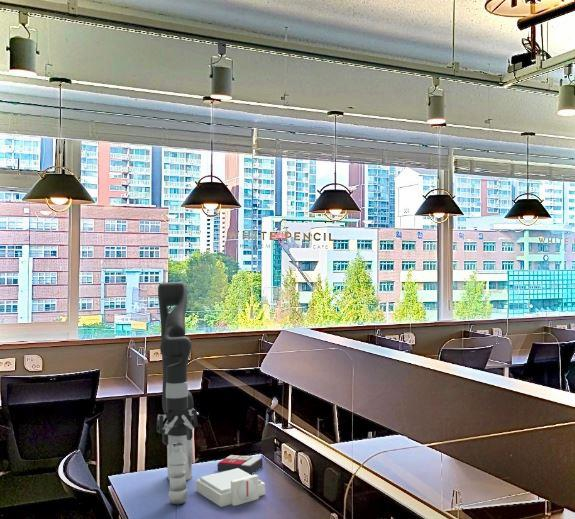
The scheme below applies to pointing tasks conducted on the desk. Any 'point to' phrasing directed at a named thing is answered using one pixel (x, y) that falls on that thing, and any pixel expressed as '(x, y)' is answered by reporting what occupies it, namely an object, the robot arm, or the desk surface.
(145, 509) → the desk surface
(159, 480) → the desk surface
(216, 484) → the plate
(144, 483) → the desk surface
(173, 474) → the silver metal bottle
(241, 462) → the calculator
